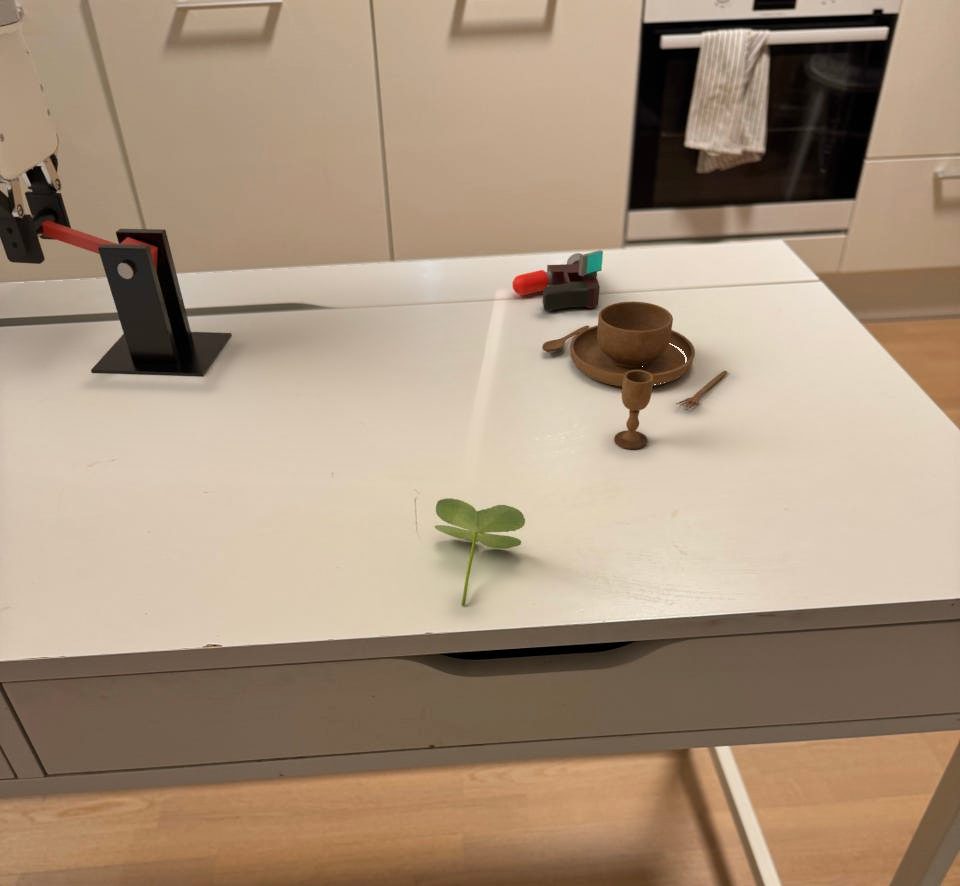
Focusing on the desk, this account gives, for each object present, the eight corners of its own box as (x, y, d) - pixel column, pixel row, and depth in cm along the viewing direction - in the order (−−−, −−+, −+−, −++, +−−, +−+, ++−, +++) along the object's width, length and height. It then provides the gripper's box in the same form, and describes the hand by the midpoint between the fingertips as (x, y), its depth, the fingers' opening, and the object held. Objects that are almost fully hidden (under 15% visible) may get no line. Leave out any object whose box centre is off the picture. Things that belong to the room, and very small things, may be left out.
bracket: (94, 381, 83) (51, 255, 75) (130, 341, 90) (94, 220, 82) (205, 385, 82) (173, 257, 74) (233, 344, 89) (207, 222, 81)
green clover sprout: (466, 628, 64) (481, 546, 66) (537, 616, 58) (552, 526, 60) (386, 598, 60) (404, 511, 62) (453, 581, 54) (471, 486, 56)
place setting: (741, 365, 84) (754, 305, 80) (643, 455, 72) (652, 390, 68) (586, 322, 92) (590, 265, 88) (474, 397, 80) (473, 335, 76)
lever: (16, 245, 77) (14, 218, 75) (41, 226, 80) (40, 199, 79) (142, 287, 78) (143, 261, 77) (162, 266, 82) (163, 241, 80)
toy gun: (589, 270, 102) (592, 227, 99) (605, 312, 94) (609, 266, 90) (507, 273, 102) (508, 230, 99) (516, 315, 93) (517, 269, 90)
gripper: (-26, -11, 73) (45, 216, 86) (-151, 24, 61) (-47, 284, 74) (60, -8, 73) (118, 220, 85) (-49, 28, 61) (39, 289, 73)
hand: (41, 247), depth 79 cm, fingers closed on lever, 5 cm apart
